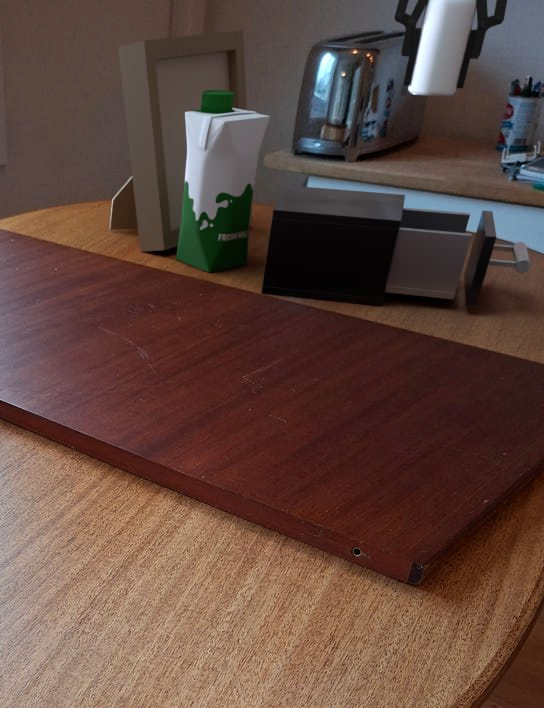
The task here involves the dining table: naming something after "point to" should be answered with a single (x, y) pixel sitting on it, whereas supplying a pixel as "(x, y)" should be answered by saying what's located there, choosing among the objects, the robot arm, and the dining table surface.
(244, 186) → the milk carton
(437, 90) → the can
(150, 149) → the photo frame
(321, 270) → the cabinet
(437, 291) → the drawer
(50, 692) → the dining table surface
